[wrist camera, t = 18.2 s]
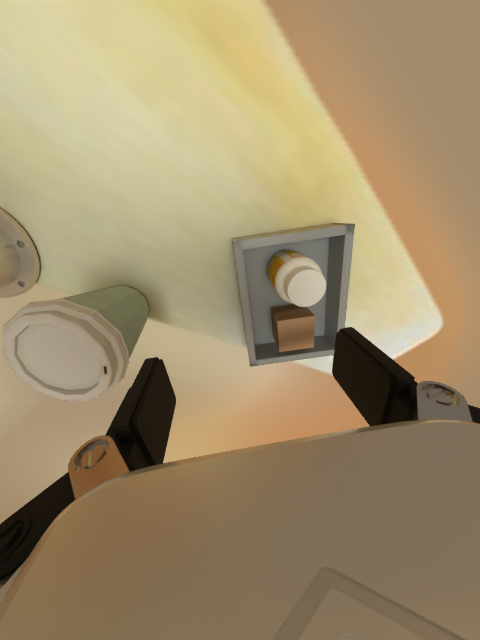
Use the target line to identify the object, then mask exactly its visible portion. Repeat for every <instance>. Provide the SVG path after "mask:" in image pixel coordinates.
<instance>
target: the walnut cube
mask: <svg viewBox="0 0 480 640" xmlns="http://www.w3.org/2000/svg"><path fill="white" fill-rule="evenodd" d="M271 319H272V333H273V337H274V340H275V342H276V345H277V347H278V350H279V352H284V351H291V350H298V349H306V348H313V347H314V332H315V315H314V314H313V313H312V312H311V311H310V310H309V309H308V308H307V307H300V306H297V305H295V304H288V305H280V306H273V307H271Z"/></svg>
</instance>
